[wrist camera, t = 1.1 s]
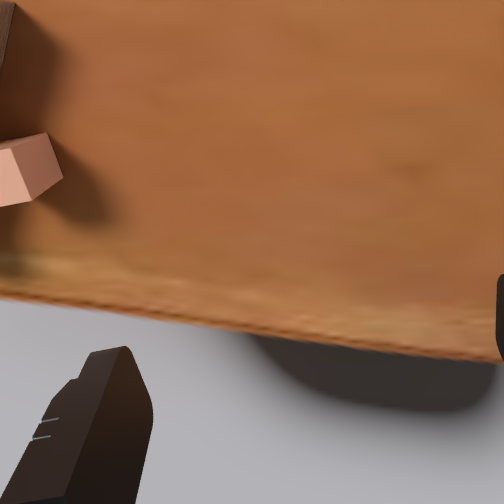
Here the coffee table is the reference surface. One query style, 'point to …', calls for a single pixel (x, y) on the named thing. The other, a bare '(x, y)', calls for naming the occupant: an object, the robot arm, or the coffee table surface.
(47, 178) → the salmon pink block
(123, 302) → the coffee table surface
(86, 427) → the robot arm
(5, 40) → the arm
